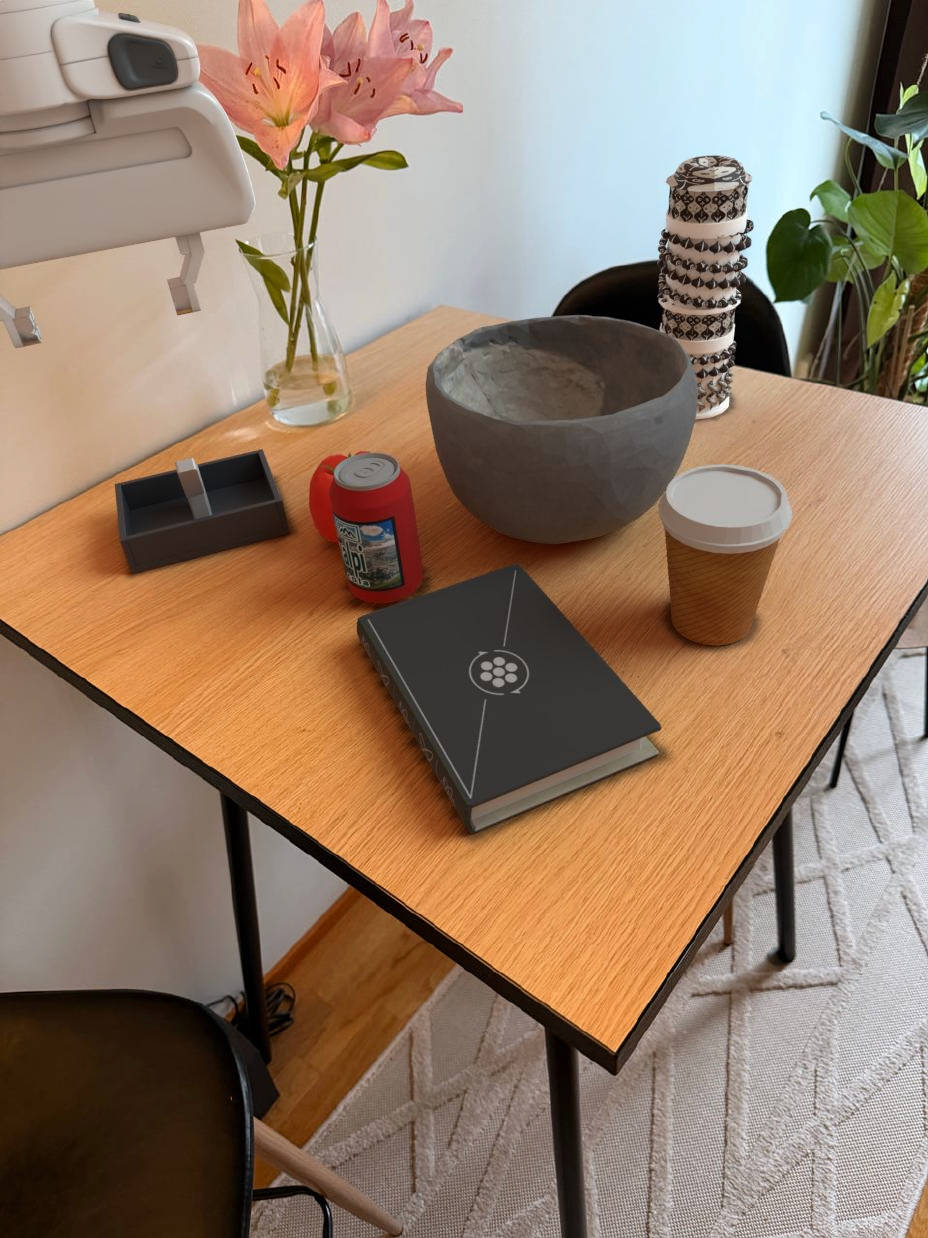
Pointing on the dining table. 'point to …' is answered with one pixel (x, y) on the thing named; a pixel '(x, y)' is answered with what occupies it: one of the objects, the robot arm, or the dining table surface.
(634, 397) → the bowl
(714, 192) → the patterned white cylinder
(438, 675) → the book
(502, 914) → the dining table surface
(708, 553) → the disposable coffee cup
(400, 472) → the beverage can
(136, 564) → the tray
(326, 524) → the tomato
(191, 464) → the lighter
